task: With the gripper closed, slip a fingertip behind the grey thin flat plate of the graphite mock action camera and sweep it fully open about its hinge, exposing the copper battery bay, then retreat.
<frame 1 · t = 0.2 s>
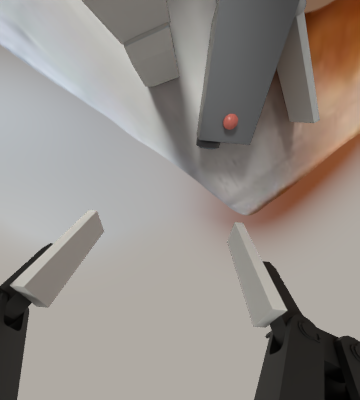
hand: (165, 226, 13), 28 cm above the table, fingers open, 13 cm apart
grey thin flat plate: (295, 75, 24), point 4 cm above the table, hinge at 40.0°
electronic device: (154, 43, 26), on the table
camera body: (225, 91, 29), on the table
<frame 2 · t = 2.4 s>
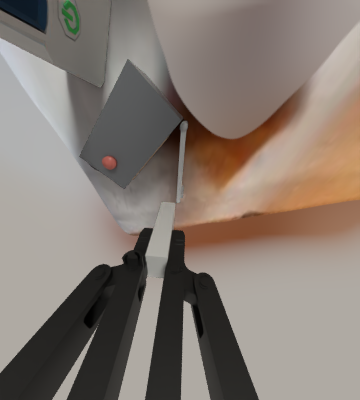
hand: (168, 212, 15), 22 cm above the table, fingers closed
grey thin flat plate: (182, 164, 30), point 4 cm above the table, hinge at 40.0°
electronic device: (87, 35, 23), on the table
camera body: (141, 133, 31), on the table
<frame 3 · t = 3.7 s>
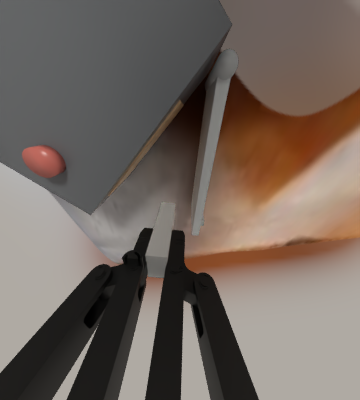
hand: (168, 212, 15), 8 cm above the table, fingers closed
grey thin flat plate: (204, 164, 16), point 4 cm above the table, hinge at 40.0°
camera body: (126, 106, 16), on the table
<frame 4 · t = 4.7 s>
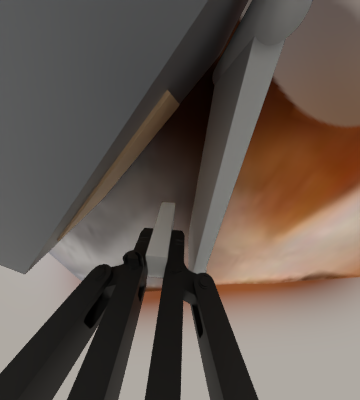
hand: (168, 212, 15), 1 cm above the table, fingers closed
grey thin flat plate: (208, 193, 11), point 4 cm above the table, hinge at 40.3°, touching gripper
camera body: (95, 104, 11), on the table
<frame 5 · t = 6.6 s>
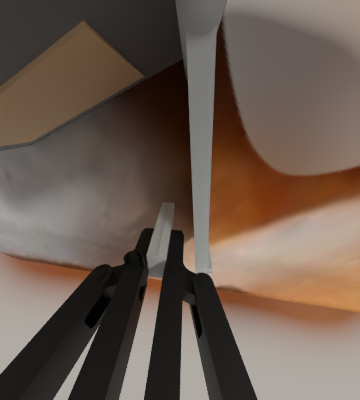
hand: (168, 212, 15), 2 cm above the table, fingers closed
grey thin flat plate: (200, 190, 11), point 4 cm above the table, hinge at 74.1°, touching gripper
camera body: (48, 23, 9), on the table
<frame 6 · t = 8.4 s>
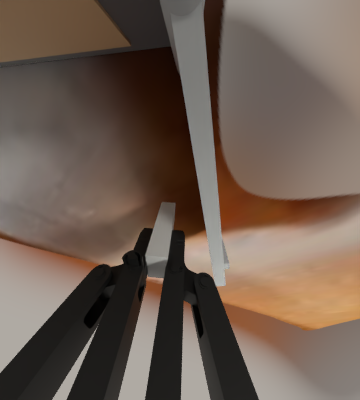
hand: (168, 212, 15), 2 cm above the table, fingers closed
grey thin flat plate: (207, 183, 10), point 4 cm above the table, hinge at 98.9°
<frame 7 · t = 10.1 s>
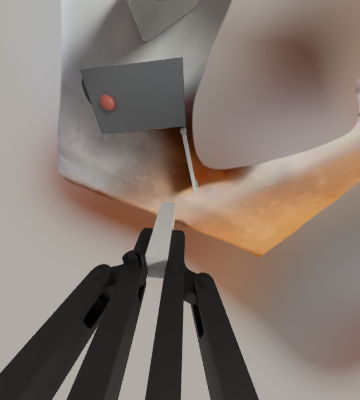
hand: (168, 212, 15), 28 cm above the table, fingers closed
grey thin flat plate: (190, 161, 36), point 4 cm above the table, hinge at 98.9°
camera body: (148, 104, 33), on the table
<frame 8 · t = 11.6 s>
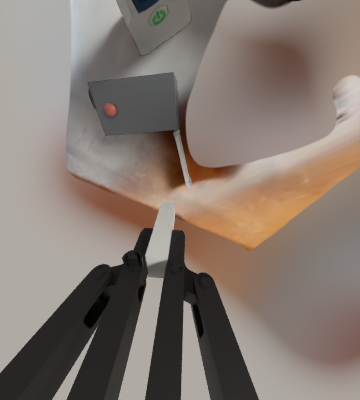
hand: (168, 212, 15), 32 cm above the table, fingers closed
grey thin flat plate: (183, 160, 40), point 4 cm above the table, hinge at 98.9°
electronic device: (158, 19, 28), on the table
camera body: (146, 109, 37), on the table
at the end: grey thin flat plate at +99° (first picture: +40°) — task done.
